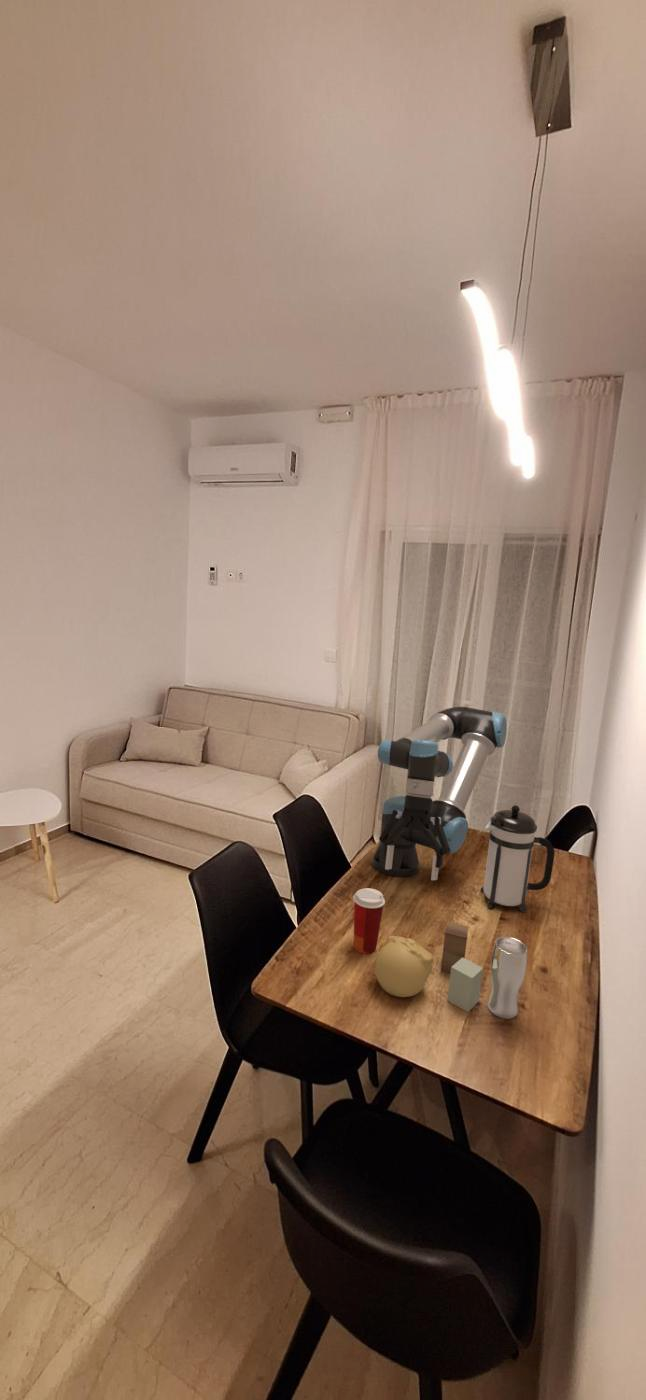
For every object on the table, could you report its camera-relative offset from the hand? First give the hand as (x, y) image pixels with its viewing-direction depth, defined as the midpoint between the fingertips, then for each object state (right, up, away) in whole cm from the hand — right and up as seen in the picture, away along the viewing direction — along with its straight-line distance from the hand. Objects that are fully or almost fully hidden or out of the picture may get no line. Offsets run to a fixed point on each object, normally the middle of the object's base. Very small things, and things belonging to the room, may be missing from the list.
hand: (410, 874), depth 154 cm
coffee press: (+31, -13, +14) cm, 36 cm away
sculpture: (-7, -17, -27) cm, 33 cm away
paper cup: (-14, -14, -14) cm, 24 cm away
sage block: (+7, -18, -30) cm, 36 cm away
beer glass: (+15, -19, -32) cm, 40 cm away
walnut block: (+7, -16, -19) cm, 26 cm away
